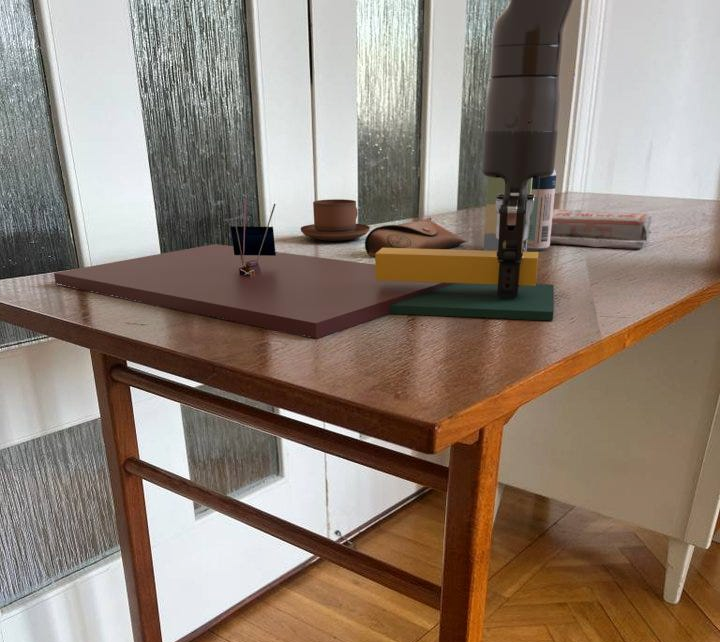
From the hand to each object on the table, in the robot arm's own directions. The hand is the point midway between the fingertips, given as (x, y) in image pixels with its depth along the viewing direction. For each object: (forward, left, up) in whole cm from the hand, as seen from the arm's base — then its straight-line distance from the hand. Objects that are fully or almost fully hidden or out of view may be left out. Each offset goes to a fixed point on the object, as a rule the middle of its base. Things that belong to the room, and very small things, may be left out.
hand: (508, 292), depth 86 cm
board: (+32, -4, -2) cm, 32 cm away
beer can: (-2, -39, -2) cm, 39 cm away
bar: (+6, 0, +1) cm, 6 cm away
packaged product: (-11, -47, -2) cm, 48 cm away
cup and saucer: (+32, -44, -2) cm, 54 cm away
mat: (+6, 0, -1) cm, 6 cm away
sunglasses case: (+16, -35, -2) cm, 39 cm away
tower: (+2, -29, -1) cm, 29 cm away
